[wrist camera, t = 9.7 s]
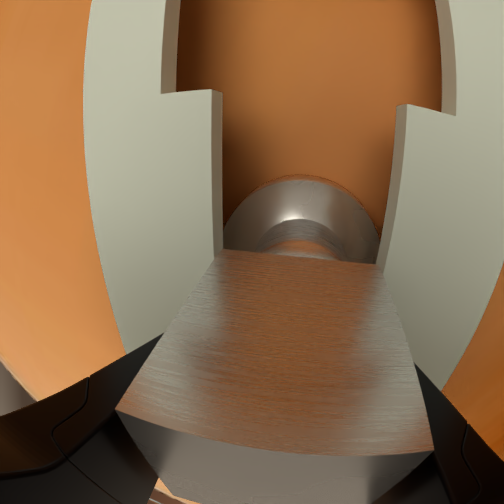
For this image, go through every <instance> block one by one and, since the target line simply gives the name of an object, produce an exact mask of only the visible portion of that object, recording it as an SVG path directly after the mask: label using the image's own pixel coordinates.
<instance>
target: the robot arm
mask: <svg viewBox="0 0 504 504" xmlns="http://www.w3.org/2000/svg"><path fill="white" fill-rule="evenodd" d="M163 334H164V333H162V334H160V335H159V336H157V337H155V338H154V339H152V340H150V341H149V342H147V343H145V344H144V345H142V346H140V347H138V348H137V349H135V350H133V351H132V352H130V353H128V354H126V355H125V356H123V357H121V358H120V359H118V360H116V361H114V362H113V363H111V364H109V365H107V366H106V367H104V368H102V369H100V370H99V371H97V372H95V373H93V374H92V375H90V378H89V377H86V378H84V379H83V380H81V381H79V382H77V383H75V384H74V385H72V386H70V387H68V388H66V389H64V390H62V391H60V392H58V393H56V394H54V395H52V396H49V397H47V398H45V399H43V400H40V401H38V402H36V403H33V404H31V405H28V406H26V407H23V408H21V409H18V410H16V411H13V412H11V413H8V414H6V415H3V416H0V504H147V502H148V500H149V498H150V495H151V493H152V491H153V489H154V487H155V484H156V482H157V480H158V478H159V476H158V475H157V474H156V472H155V471H154V470H153V468H152V467H151V466H150V464H149V463H148V461H147V460H146V458H145V457H144V456H143V454H142V453H141V451H140V450H139V448H138V447H137V445H136V443H135V442H134V440H133V439H132V437H131V436H130V434H129V432H128V431H127V429H126V428H125V426H124V424H123V422H122V421H121V419H120V417H119V416H118V414H117V412H116V410H115V408H116V406H117V405H118V403H119V402H120V400H121V398H122V397H123V395H124V394H125V392H126V391H127V389H128V387H129V386H130V384H131V383H132V381H133V380H134V378H135V377H136V375H137V373H138V372H139V370H140V369H141V367H142V366H143V364H144V363H145V361H146V360H147V358H148V357H149V355H150V353H151V352H152V350H153V349H154V347H155V346H156V344H157V343H158V341H159V340H160V338H161V337H162V335H163ZM414 366H415V369H416V373H417V376H418V380H419V384H420V387H421V391H422V395H423V399H424V403H425V407H426V412H427V416H428V421H429V426H430V430H431V435H432V441H433V446H434V451H433V452H432V453H431V454H430V455H429V456H428V457H427V458H425V459H424V460H423V461H422V462H421V463H420V464H419V465H418V466H417V467H416V468H415V469H414V470H412V471H411V472H410V473H409V474H408V475H407V476H405V477H404V478H403V479H402V480H401V481H400V482H398V483H397V484H396V485H395V486H393V487H392V488H391V489H390V490H388V491H387V492H386V493H384V494H383V495H382V496H380V497H379V498H378V499H376V500H375V501H374V502H372V503H371V504H504V461H502V460H501V459H500V457H499V456H498V455H497V454H496V453H495V452H494V451H493V450H492V449H491V448H490V447H489V446H488V445H487V444H486V443H485V442H484V440H483V439H482V438H481V437H480V436H479V435H478V434H477V433H476V431H475V430H474V429H473V428H472V427H471V425H470V424H467V421H466V420H465V419H464V417H463V416H462V415H461V414H460V413H459V412H458V410H457V409H456V408H455V407H454V406H453V405H452V404H451V402H450V401H449V400H448V399H447V398H446V397H445V396H444V395H443V393H442V392H441V391H440V390H439V389H438V388H437V387H436V386H435V385H434V383H433V382H432V381H431V380H430V379H429V378H428V377H427V376H426V375H425V374H424V372H423V371H422V370H421V369H420V368H419V367H418V366H417V365H416V364H415V363H414Z"/></svg>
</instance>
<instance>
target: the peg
mask: <svg viewBox="0 0 504 504" xmlns="http://www.w3.org/2000/svg"><path fill="white" fill-rule="evenodd" d="M379 246H380V240H379V237H378V233H377V231H376V229H375V226H374V224H373V222H372V220H371V219H370V217H369V215H368V214H367V212H366V210H365V209H364V207H363V206H362V204H361V203H360V202H359V201H358V200H357V198H356V197H355V196H354V195H353V194H351V193H350V192H349V191H348V190H347V189H345V188H344V187H342V186H340V185H339V184H337V183H335V182H333V181H331V180H328V179H325V178H322V177H318V176H313V175H298V174H297V175H288V176H283V177H279V178H276V179H273V180H271V181H268V182H266V183H264V184H263V185H261V186H259V187H258V188H256V189H255V190H254V191H252V192H251V193H250V194H249V195H248V196H247V197H246V198H245V199H244V200H243V201H242V202H241V204H240V205H239V206H238V207H237V208H236V209H235V211H234V212H233V213H232V215H231V216H230V218H229V220H228V222H227V223H226V225H225V228H224V231H223V249H221V250H220V252H219V253H218V255H217V256H216V257H215V259H214V260H213V262H212V263H211V265H210V266H209V268H208V269H207V270H206V272H205V273H204V275H203V276H202V278H201V279H200V281H199V282H198V283H197V285H196V286H195V288H194V289H193V291H192V292H191V294H190V295H189V297H188V298H187V300H186V301H185V303H184V304H183V305H182V307H181V308H180V310H179V311H178V313H177V314H176V316H175V317H174V319H173V320H172V322H171V323H170V325H169V326H168V328H167V329H166V331H165V332H164V334H163V335H162V337H161V338H160V340H159V341H158V343H157V344H156V346H155V347H154V349H153V350H152V352H151V353H150V355H149V357H148V358H147V360H146V361H145V363H144V364H143V366H142V367H141V369H140V370H139V372H138V373H137V375H136V377H135V378H134V380H133V381H132V383H131V384H130V386H129V387H128V389H127V391H126V392H125V394H124V395H123V397H122V398H121V400H120V402H119V403H118V405H117V406H116V408H115V410H116V412H117V414H118V416H119V417H120V419H121V421H122V422H123V424H124V426H125V428H126V429H127V431H128V432H129V434H130V436H131V437H132V439H133V440H134V442H135V443H136V445H137V447H138V448H139V450H140V451H141V453H142V454H143V456H144V457H145V458H146V460H147V461H148V463H149V464H150V466H151V467H152V468H153V470H154V471H155V472H156V474H157V475H158V476H159V478H160V479H161V480H162V482H163V483H164V484H165V486H166V487H167V488H168V489H169V491H170V492H171V493H172V494H173V495H174V496H177V497H180V498H184V499H187V500H190V501H194V502H198V503H201V504H371V503H372V502H374V501H375V500H376V499H378V498H379V497H380V496H382V495H383V494H384V493H386V492H387V491H388V490H390V489H391V488H392V487H393V486H395V485H396V484H397V483H398V482H400V481H401V480H402V479H403V478H404V477H405V476H407V475H408V474H409V473H410V472H411V471H412V470H414V469H415V468H416V467H417V466H418V465H419V464H420V463H421V462H422V461H423V460H424V459H425V458H427V457H428V456H429V455H430V454H431V453H432V452H433V451H434V446H433V441H432V435H431V430H430V426H429V421H428V416H427V412H426V407H425V403H424V399H423V395H422V391H421V387H420V384H419V380H418V376H417V373H416V369H415V366H414V362H413V359H412V355H411V352H410V349H409V346H408V343H407V339H406V336H405V333H404V330H403V327H402V324H401V321H400V319H399V316H398V313H397V310H396V307H395V305H394V302H393V299H392V296H391V294H390V291H389V289H388V286H387V283H386V281H385V278H384V276H383V273H382V271H381V268H380V266H379V265H376V261H377V256H378V251H379Z"/></svg>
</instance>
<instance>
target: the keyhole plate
mask: <svg viewBox="0 0 504 504" xmlns="http://www.w3.org/2000/svg"><path fill="white" fill-rule="evenodd" d="M180 2H181V0H92V4H91V10H90V16H89V23H88V31H87V40H86V51H85V64H84V86H83V123H84V146H85V160H86V172H87V181H88V190H89V198H90V205H91V212H92V219H93V225H94V231H95V236H96V242H97V247H98V252H99V257H100V262H101V266H102V271H103V275H104V279H105V283H106V287H107V291H108V295H109V299H110V303H111V306H112V310H113V313H114V317H115V320H116V324H117V327H118V330H119V333H120V336H121V340H122V343H123V346H124V349H125V352H126V354H128V353H130V352H132V351H133V350H135V349H137V348H138V347H140V346H142V345H144V344H145V343H147V342H149V341H150V340H152V339H154V338H155V337H157V336H159V335H160V334H162V333H164V332H165V331H166V329H167V328H168V326H169V325H170V323H171V322H172V320H173V319H174V317H175V316H176V314H177V313H178V311H179V310H180V308H181V307H182V305H183V304H184V303H185V301H186V300H187V298H188V297H189V295H190V294H191V292H192V291H193V289H194V288H195V286H196V285H197V283H198V282H199V281H200V279H201V278H202V276H203V275H204V273H205V272H206V270H207V269H208V268H209V266H210V265H211V263H212V262H213V260H214V259H215V257H216V256H217V255H218V253H219V252H220V250H221V249H223V207H222V108H223V93H222V92H219V91H216V90H213V89H207V90H193V91H183V92H176V69H177V45H178V28H179V14H180ZM435 3H436V10H437V17H438V25H439V35H440V46H441V64H442V111H441V112H438V111H435V110H431V109H427V108H423V107H419V106H414V105H410V104H404V105H399V106H396V124H395V139H394V151H393V161H392V170H391V178H390V186H389V193H388V200H387V207H386V213H385V219H384V225H383V231H382V236H381V241H380V246H379V251H378V256H377V261H376V265H379V266H380V268H381V271H382V273H383V276H384V278H385V281H386V283H387V286H388V289H389V291H390V294H391V296H392V299H393V302H394V305H395V307H396V310H397V313H398V316H399V319H400V321H401V324H402V327H403V330H404V333H405V336H406V339H407V343H408V346H409V349H410V352H411V355H412V359H413V362H414V363H415V364H416V365H417V366H418V367H419V368H420V369H421V370H422V371H423V372H424V374H425V375H426V376H427V377H428V378H429V379H430V380H431V381H432V382H433V383H434V385H435V386H436V387H437V388H438V389H439V390H440V391H441V390H442V389H443V387H444V385H445V384H446V382H447V381H448V379H449V378H450V376H451V374H452V373H453V371H454V369H455V368H456V366H457V364H458V363H459V361H460V359H461V357H462V355H463V354H464V352H465V350H466V348H467V346H468V344H469V343H470V341H471V339H472V337H473V335H474V333H475V331H476V329H477V327H478V325H479V322H480V320H481V318H482V316H483V314H484V311H485V309H486V307H487V305H488V302H489V300H490V297H491V295H492V293H493V290H494V287H495V285H496V282H497V280H498V277H499V274H500V271H501V268H502V265H503V262H504V0H435Z"/></svg>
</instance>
